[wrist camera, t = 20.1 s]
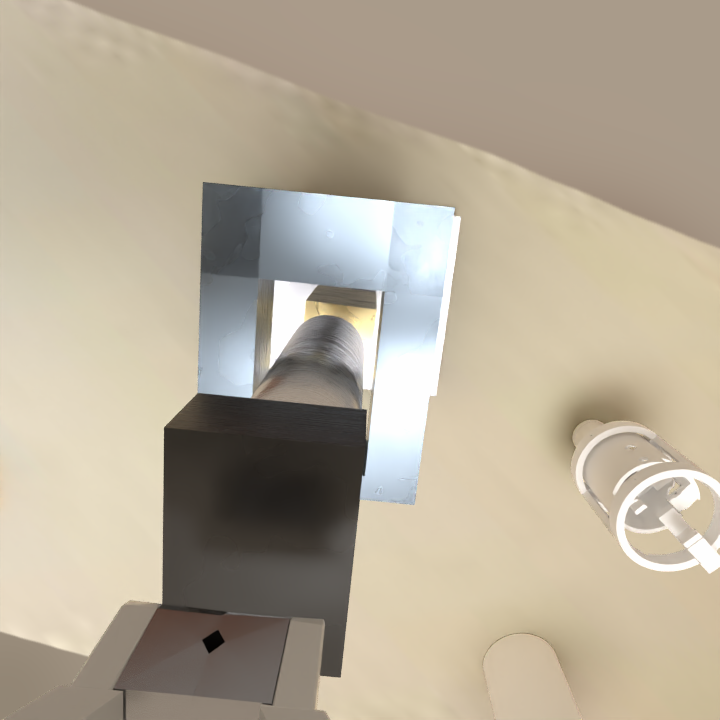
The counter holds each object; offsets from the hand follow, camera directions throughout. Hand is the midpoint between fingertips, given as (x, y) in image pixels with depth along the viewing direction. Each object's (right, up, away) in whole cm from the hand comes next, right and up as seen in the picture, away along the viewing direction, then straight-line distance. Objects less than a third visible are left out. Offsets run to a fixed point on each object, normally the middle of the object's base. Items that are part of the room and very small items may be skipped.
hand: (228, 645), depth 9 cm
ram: (0, +5, +18) cm, 19 cm away
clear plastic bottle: (+22, -2, +40) cm, 45 cm away
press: (+1, +10, +37) cm, 38 cm away
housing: (+1, +8, +35) cm, 36 cm away
